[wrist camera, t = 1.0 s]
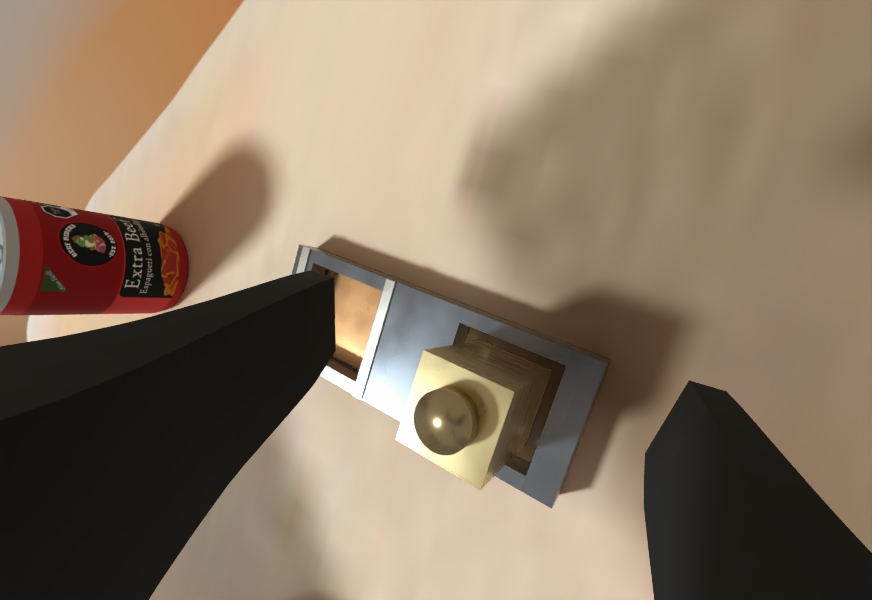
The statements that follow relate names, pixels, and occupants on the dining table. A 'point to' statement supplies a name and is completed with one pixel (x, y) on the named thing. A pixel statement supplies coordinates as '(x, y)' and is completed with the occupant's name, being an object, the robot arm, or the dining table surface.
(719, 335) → the dining table surface
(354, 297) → the plate with square holes
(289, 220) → the dining table surface
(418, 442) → the cube with round knob
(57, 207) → the canned food
